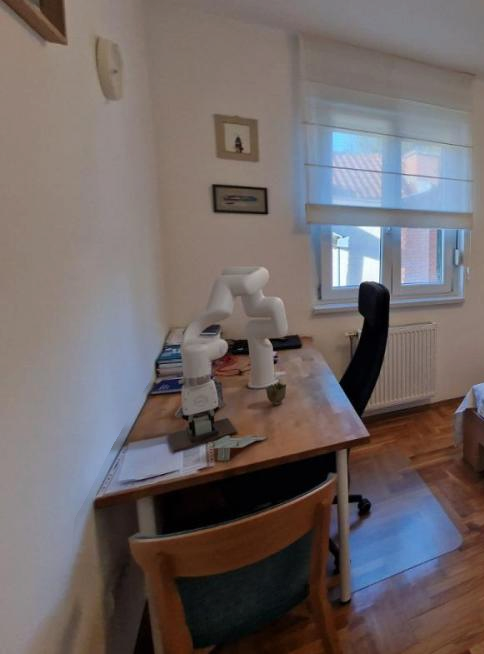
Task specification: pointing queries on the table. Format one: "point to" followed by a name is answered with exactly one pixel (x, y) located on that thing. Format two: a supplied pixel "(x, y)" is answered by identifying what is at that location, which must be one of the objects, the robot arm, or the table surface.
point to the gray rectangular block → (202, 425)
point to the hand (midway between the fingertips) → (202, 427)
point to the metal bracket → (231, 445)
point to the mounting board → (189, 438)
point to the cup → (276, 393)
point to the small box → (219, 395)
